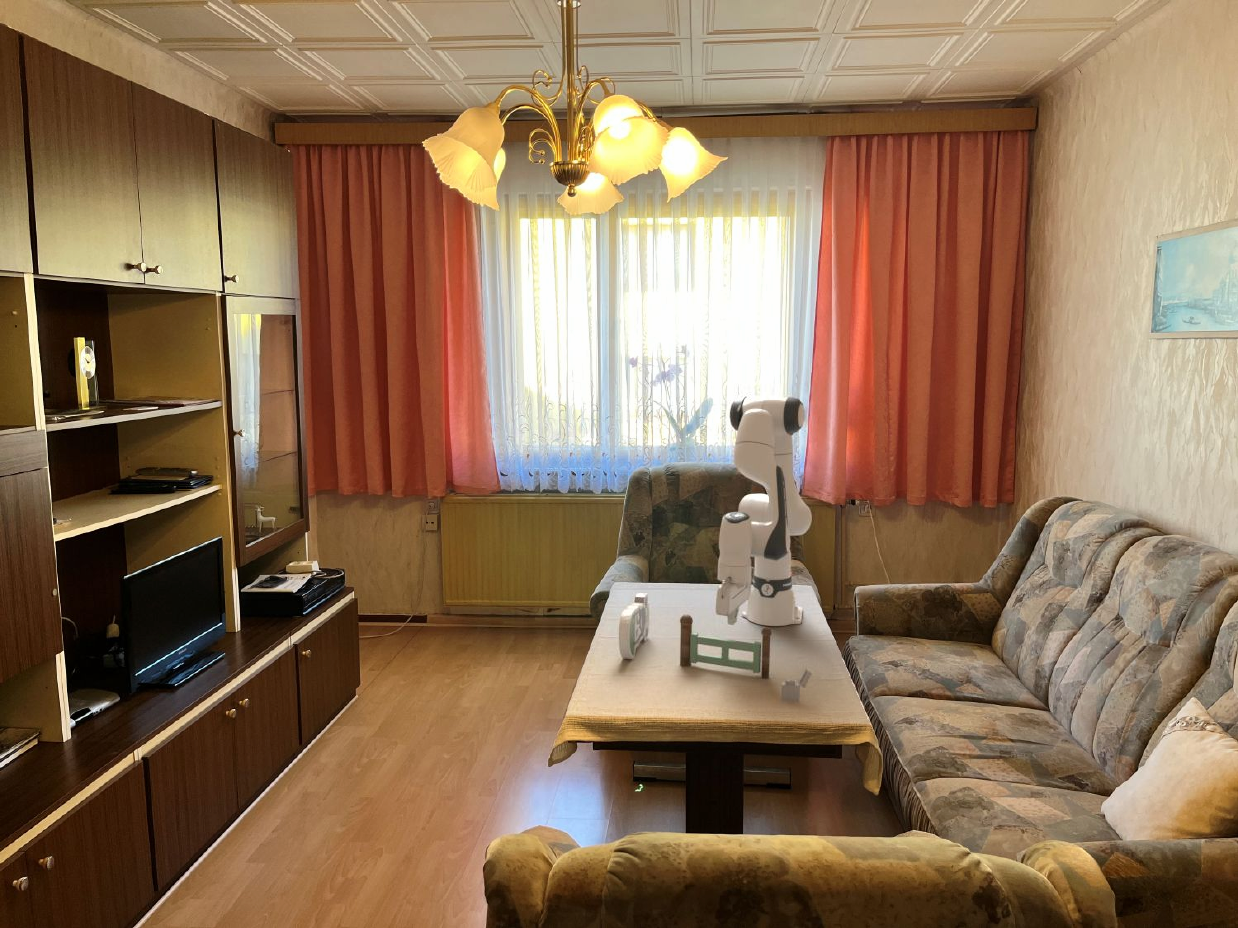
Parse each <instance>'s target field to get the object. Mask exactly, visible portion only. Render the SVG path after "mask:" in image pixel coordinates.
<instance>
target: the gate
mask: <svg viewBox="0 0 1238 928" xmlns="http://www.w3.org/2000/svg"><path fill="white" fill-rule="evenodd" d="M699 645H703V646H709V647H717V648H721V656H718V655H712V654H706V653H700V652H699ZM729 649H730V650H737V651H743V652H749V653H753V654H752V655H753V657H752V661H751V660H745V659H739V658H732V657H729V652H730V651H729ZM690 663H691V664H697V663H702V664H709V665H715V666H719V667H720V666H721V667H728V668H734V669H741V670H748V671H752V673H753V674H758V675H759V674H761V672H762V641H754V642H748V641H747V642H746V641H741V640H735V639H726V638H722V637H721V638H720V637H713V636H705V635H699V632H693V631H692V633H691V634H690Z"/></svg>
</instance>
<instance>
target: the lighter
mask: <svg viewBox="0 0 1238 928" xmlns="http://www.w3.org/2000/svg"><path fill="white" fill-rule="evenodd" d="M812 676H813V672H812V670H810V669H808V668H806V669H805V671H804V673H803V674H802V677H801V678H800V680H799V681H798V682H796V680H795V679H786V680H785V681H784V682H781V698H780V699H781V702H782V703H800V689H801V688H800V687H802V688H806V686H807V685H808V683H809V680H810V679H811V677H812Z"/></svg>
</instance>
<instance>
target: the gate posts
mask: <svg viewBox="0 0 1238 928" xmlns="http://www.w3.org/2000/svg"><path fill="white" fill-rule="evenodd" d="M693 622H694V621H693V618H692V616H691V615H689V614H683V615H682V616H681V617H680V619H679V623H680V641H679V642H680V645H679V646H680V647H679V648H680V649H679V651H680V652H679V655H680V656H679V665H680V666H681V667H691V666H692V663H690V634H691V633H692V632H693ZM772 633H773V632H772V630H771V628H770V627H767V626H766V627H764V628H762V629H761V636H762V641H761V672H760V674H761V675H760V676H761V678H762V679H770V661H771V659H770V658H771V636H772Z"/></svg>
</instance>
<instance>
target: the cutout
mask: <svg viewBox="0 0 1238 928" xmlns="http://www.w3.org/2000/svg"><path fill="white" fill-rule="evenodd" d="M649 632H650V603H649V594H648V593H641V592H640V593H639V592H637V593H636V594H635V596H634V602H633V603H630V604H629V605H628V606H627V607H626V608H624V609H623V611H622V612H621V615H620V620H619V625H618V646H619V653H620V656H621V659H626V660H634V659H635V655H636V649H637V648H638V647H639V646H640V644H641V642H642V643H643V642H644V643H646V642H647V640H648V639H649ZM647 638H648V639H647ZM633 658H634V659H633Z"/></svg>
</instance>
